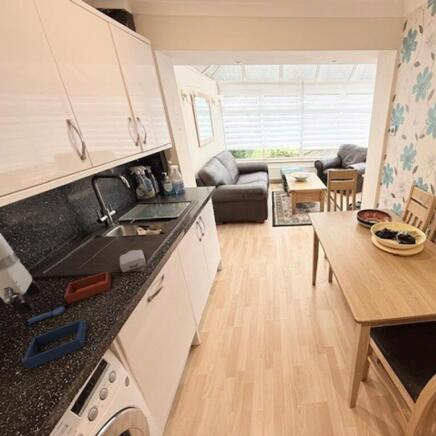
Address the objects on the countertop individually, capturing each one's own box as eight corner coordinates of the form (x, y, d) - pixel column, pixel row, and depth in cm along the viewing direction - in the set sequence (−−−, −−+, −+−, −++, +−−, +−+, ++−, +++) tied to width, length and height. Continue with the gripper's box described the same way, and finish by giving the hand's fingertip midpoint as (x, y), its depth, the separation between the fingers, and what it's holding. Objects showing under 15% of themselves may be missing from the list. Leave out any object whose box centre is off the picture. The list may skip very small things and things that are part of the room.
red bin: (69, 304, 90) (64, 296, 88) (73, 290, 97) (68, 283, 95) (110, 290, 96) (106, 282, 94) (111, 278, 103) (108, 270, 101)
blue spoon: (29, 327, 81) (26, 323, 81) (32, 320, 84) (30, 316, 83) (65, 314, 86) (63, 310, 85) (67, 307, 89) (65, 304, 88)
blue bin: (29, 371, 67) (22, 362, 65) (39, 346, 74) (32, 337, 72) (83, 348, 72) (78, 339, 71) (87, 327, 80) (82, 318, 78)
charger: (143, 251, 121) (146, 265, 110) (122, 258, 117) (123, 273, 106) (140, 243, 119) (143, 257, 108) (118, 250, 115) (119, 264, 104)
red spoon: (76, 296, 93) (75, 293, 92) (78, 291, 96) (76, 288, 95) (106, 286, 97) (104, 283, 97) (107, 282, 100) (105, 279, 99)
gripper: (-5, 253, 78) (25, 292, 86) (-33, 282, 65) (6, 325, 73) (25, 245, 82) (52, 283, 89) (5, 271, 68) (38, 314, 76)
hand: (31, 302), depth 81 cm, fingers open, 9 cm apart
